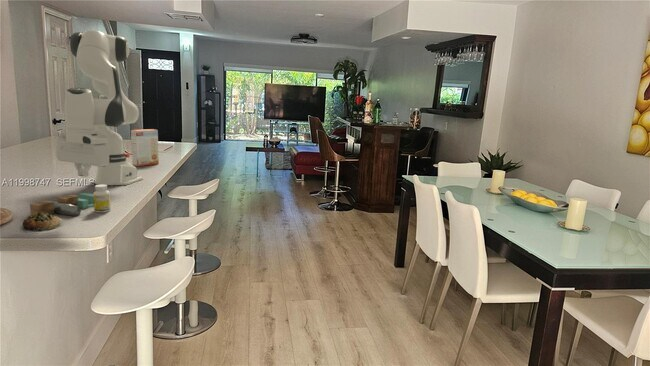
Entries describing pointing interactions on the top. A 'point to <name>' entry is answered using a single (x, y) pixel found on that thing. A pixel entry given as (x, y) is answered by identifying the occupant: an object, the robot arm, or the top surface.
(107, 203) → the supplement bottle
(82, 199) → the cradle
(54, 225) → the bread roll
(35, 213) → the pair of brown blocks
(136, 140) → the cracker box
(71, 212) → the axle
